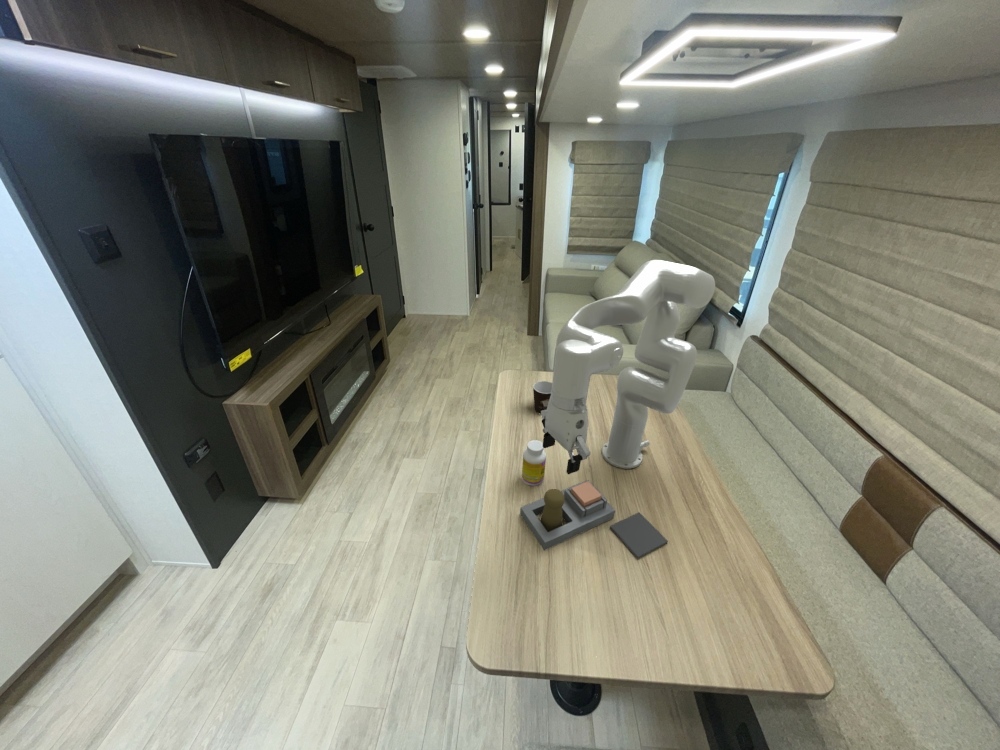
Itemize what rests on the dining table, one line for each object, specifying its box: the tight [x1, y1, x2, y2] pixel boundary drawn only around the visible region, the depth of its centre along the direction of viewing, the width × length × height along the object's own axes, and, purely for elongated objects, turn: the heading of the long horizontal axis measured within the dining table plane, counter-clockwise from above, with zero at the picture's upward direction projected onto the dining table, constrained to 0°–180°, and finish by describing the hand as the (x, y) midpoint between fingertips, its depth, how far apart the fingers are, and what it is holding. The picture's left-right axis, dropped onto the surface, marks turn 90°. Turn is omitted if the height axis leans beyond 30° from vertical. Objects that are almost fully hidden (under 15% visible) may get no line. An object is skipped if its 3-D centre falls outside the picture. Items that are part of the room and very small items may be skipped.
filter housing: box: [519, 480, 616, 551], centre depth 104 cm, size 22×12×6 cm, turn 117°
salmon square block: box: [571, 480, 603, 509], centre depth 105 cm, size 6×6×3 cm
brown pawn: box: [539, 488, 565, 532], centre depth 101 cm, size 6×6×11 cm
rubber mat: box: [609, 512, 669, 560], centre depth 101 cm, size 10×10×1 cm
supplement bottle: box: [521, 439, 547, 487], centre depth 114 cm, size 7×7×13 cm
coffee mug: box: [532, 380, 552, 415], centre depth 145 cm, size 12×9×10 cm
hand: (560, 458), depth 92 cm, fingers open, 9 cm apart
